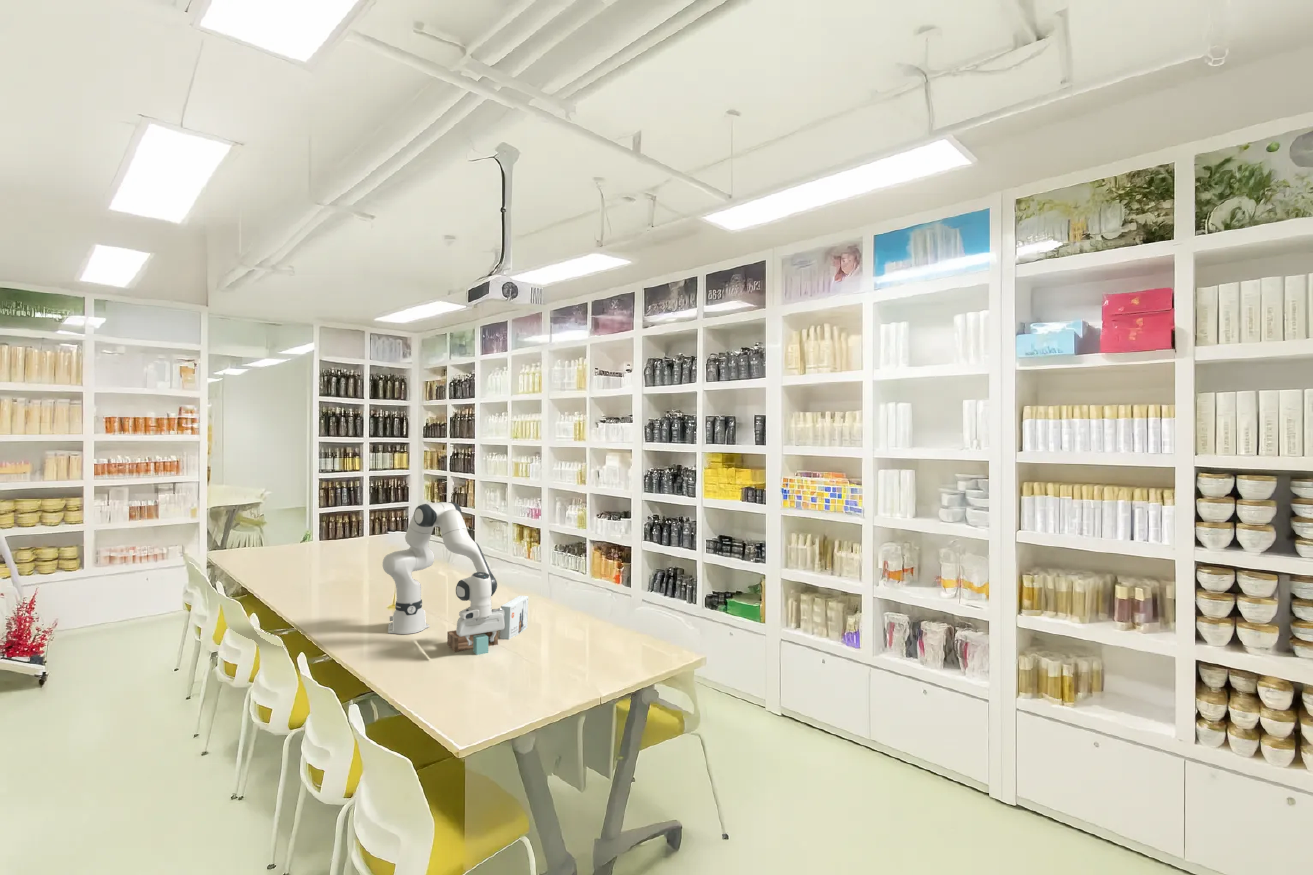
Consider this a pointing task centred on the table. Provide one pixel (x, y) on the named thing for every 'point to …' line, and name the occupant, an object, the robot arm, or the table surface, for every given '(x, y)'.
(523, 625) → the skincare box
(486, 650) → the teal block
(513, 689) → the table surface
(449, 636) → the open-fronted box
